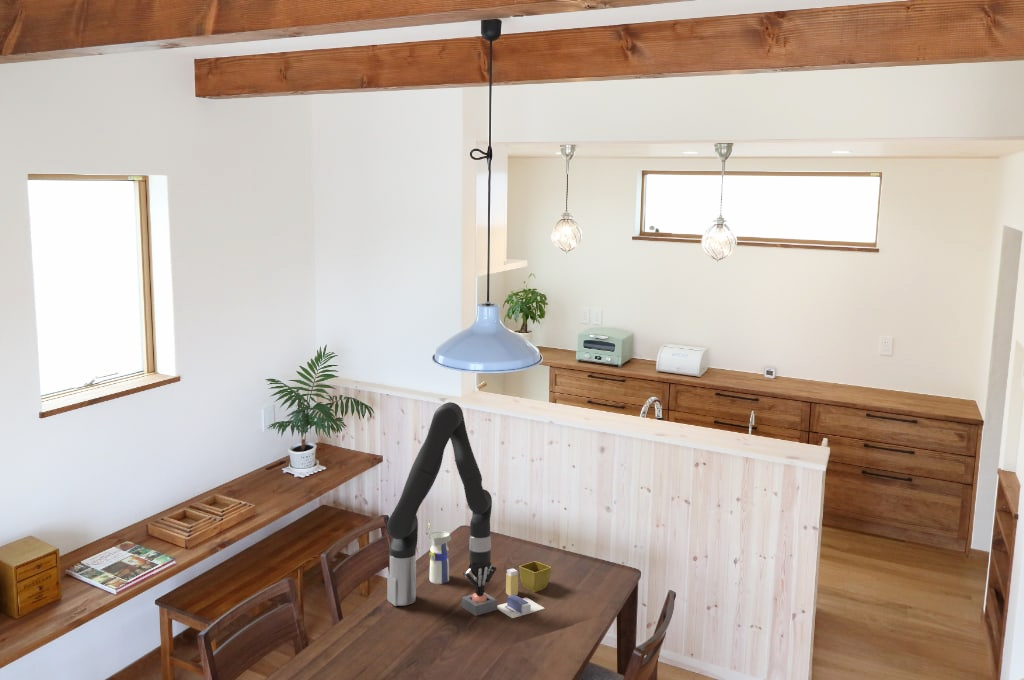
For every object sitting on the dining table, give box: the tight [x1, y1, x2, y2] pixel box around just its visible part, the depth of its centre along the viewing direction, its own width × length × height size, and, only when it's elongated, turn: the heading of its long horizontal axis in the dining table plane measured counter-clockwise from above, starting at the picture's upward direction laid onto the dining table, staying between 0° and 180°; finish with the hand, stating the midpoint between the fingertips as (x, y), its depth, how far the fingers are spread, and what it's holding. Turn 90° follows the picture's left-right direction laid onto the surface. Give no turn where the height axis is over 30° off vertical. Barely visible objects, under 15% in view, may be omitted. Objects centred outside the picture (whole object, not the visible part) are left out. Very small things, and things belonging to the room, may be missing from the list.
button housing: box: [461, 591, 498, 617], centre depth 296 cm, size 9×9×4 cm
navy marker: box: [506, 594, 531, 615], centre depth 296 cm, size 3×3×10 cm
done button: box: [471, 592, 487, 603], centre depth 296 cm, size 5×5×4 cm
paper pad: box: [497, 597, 546, 619], centre depth 297 cm, size 14×11×1 cm
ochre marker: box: [505, 567, 519, 596], centre depth 308 cm, size 3×3×10 cm
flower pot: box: [518, 560, 552, 593], centre depth 313 cm, size 9×9×9 cm
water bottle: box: [427, 519, 452, 585], centre depth 316 cm, size 8×9×25 cm
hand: (479, 595), depth 296 cm, fingers closed
